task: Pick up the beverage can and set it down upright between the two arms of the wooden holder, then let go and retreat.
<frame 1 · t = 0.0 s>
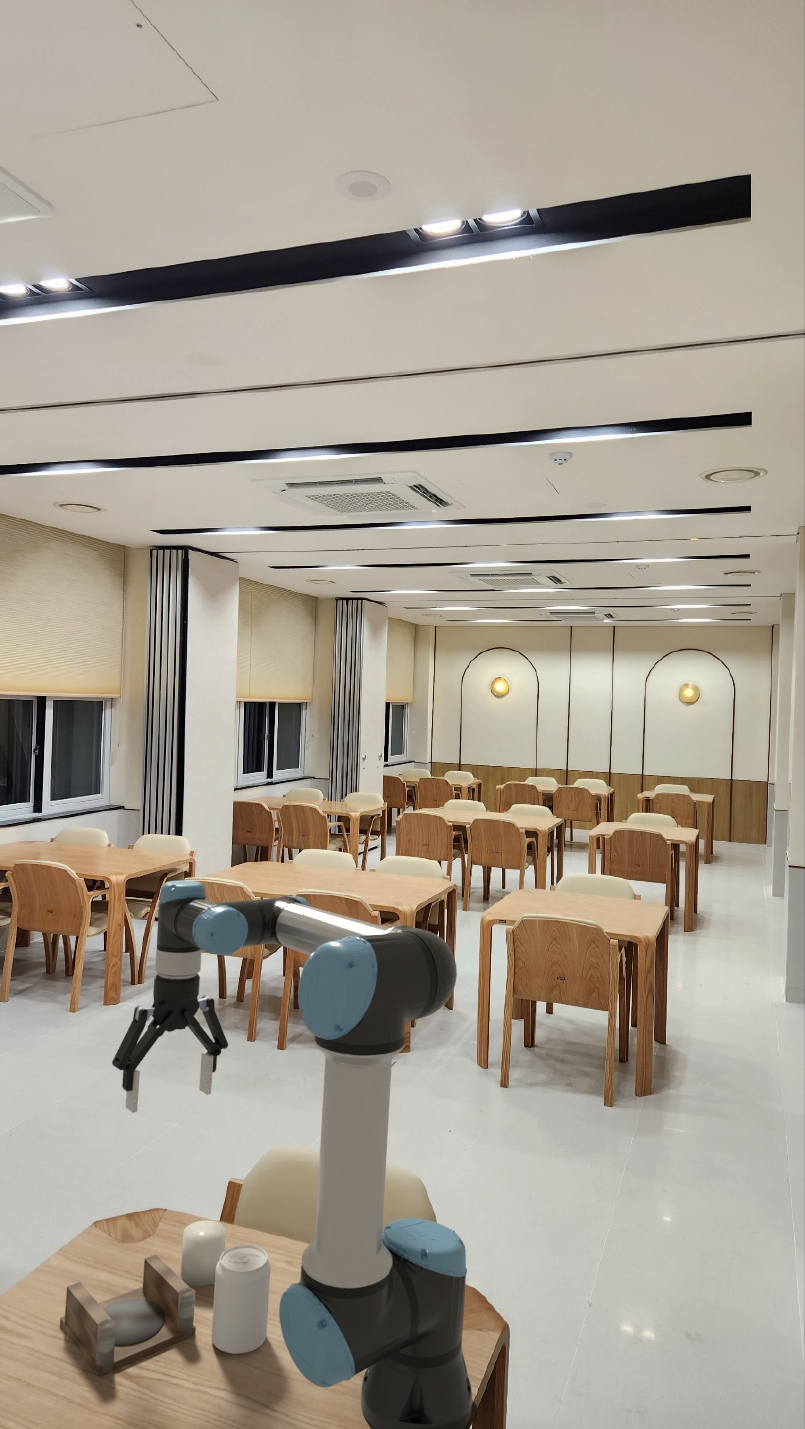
hand: (169, 1100, 152), 28 cm above the table, fingers open, 13 cm apart
beverage can: (238, 1341, 134), on the table
white pillar candle: (202, 1274, 150), on the table
wooden holder: (127, 1329, 135), on the table
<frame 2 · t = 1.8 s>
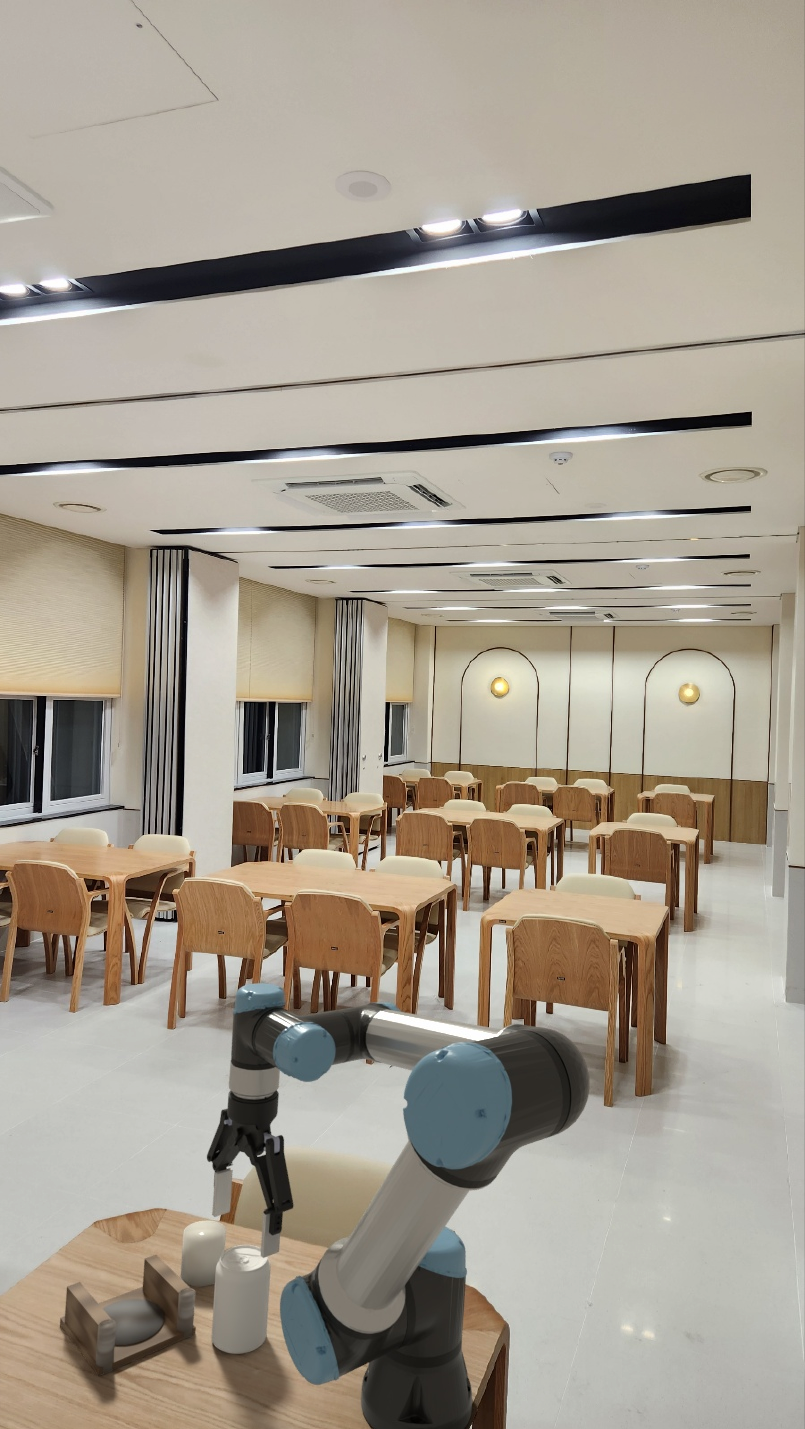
hand: (244, 1233, 135), 15 cm above the table, fingers open, 13 cm apart
nothing on the table moved.
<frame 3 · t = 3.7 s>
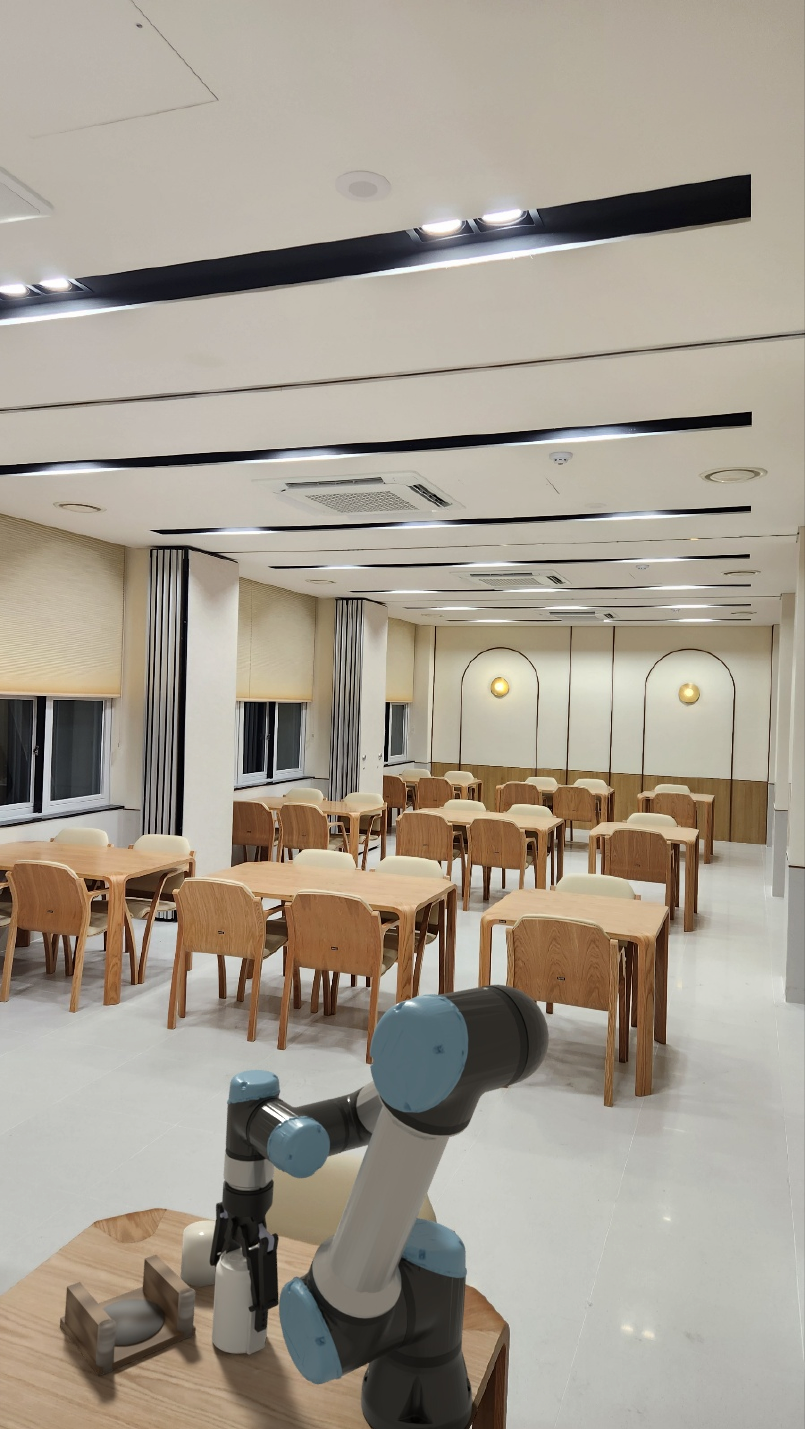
hand: (239, 1333, 135), 1 cm above the table, fingers closed on beverage can, 8 cm apart
beverage can: (239, 1340, 134), on the table, touching gripper
everything else where it was.
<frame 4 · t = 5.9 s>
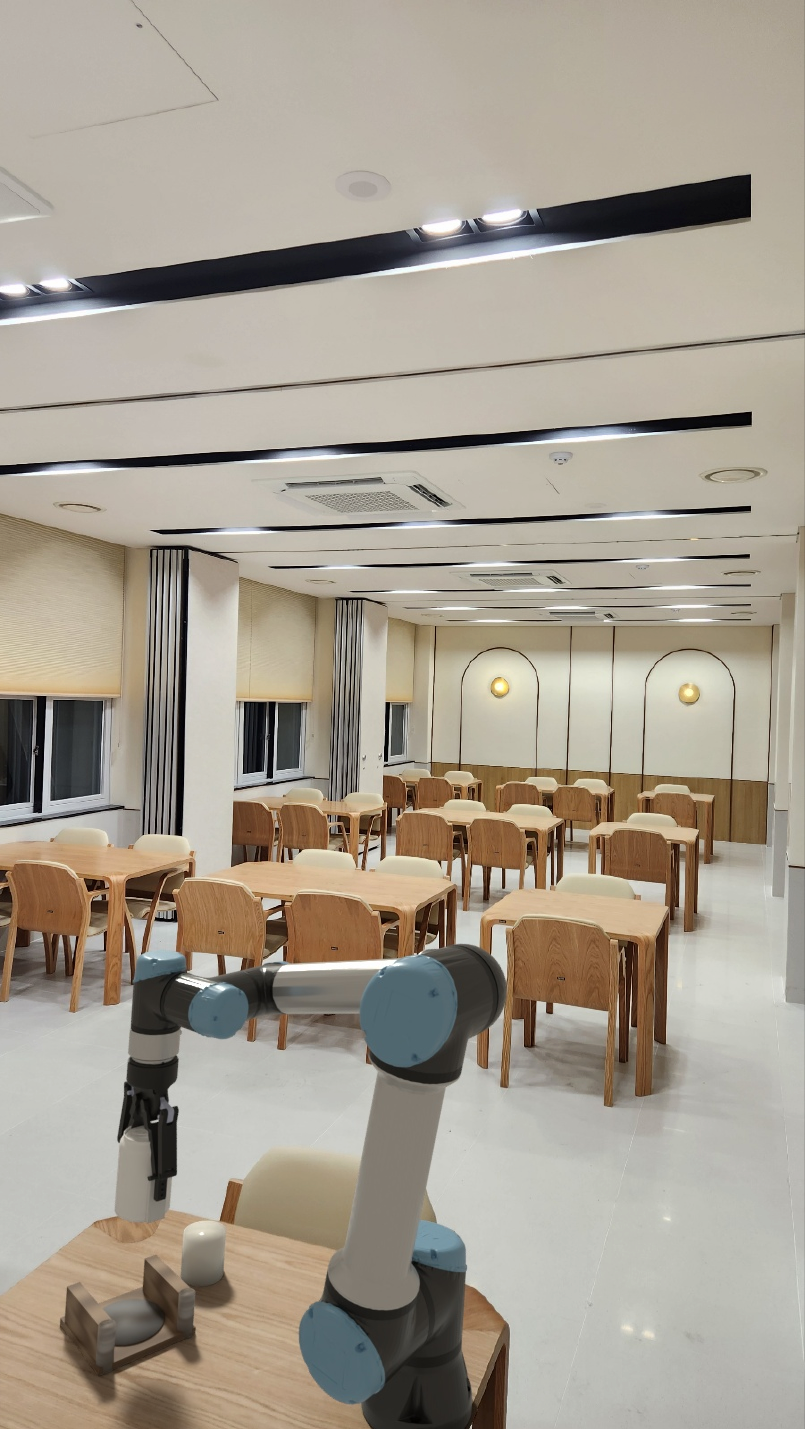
hand: (142, 1206, 136), 18 cm above the table, fingers closed on beverage can, 8 cm apart
beverage can: (141, 1212, 136), point 17 cm above the table, touching gripper
everything else where it was.
when the fingers open (3 cm above the table, at t = 8.4 s): beverage can stays where it is, resting on wooden holder.
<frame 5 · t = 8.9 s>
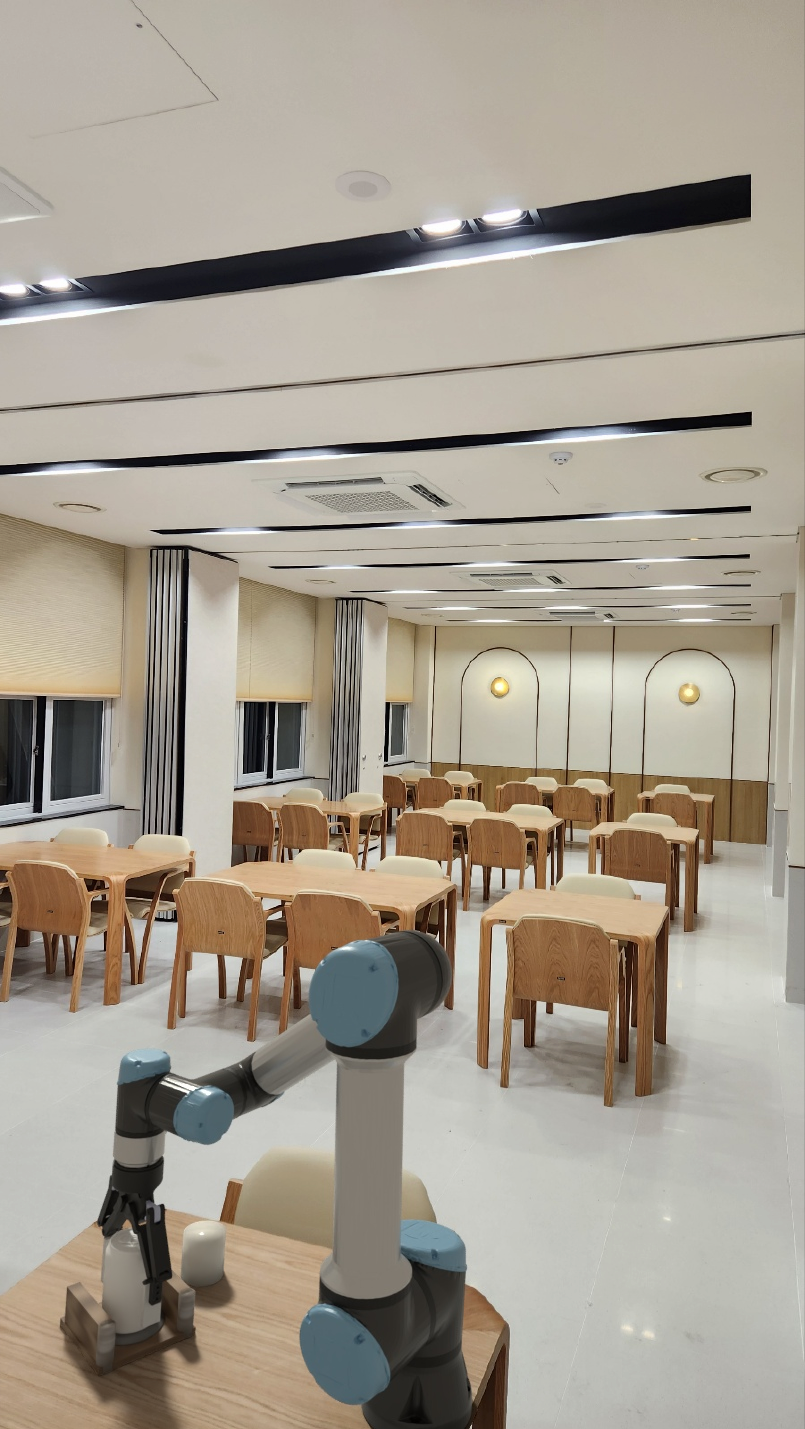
hand: (129, 1300, 136), 4 cm above the table, fingers open, 13 cm apart
beverage can: (128, 1321, 135), point 1 cm above the table, touching wooden holder
everything else where it was.
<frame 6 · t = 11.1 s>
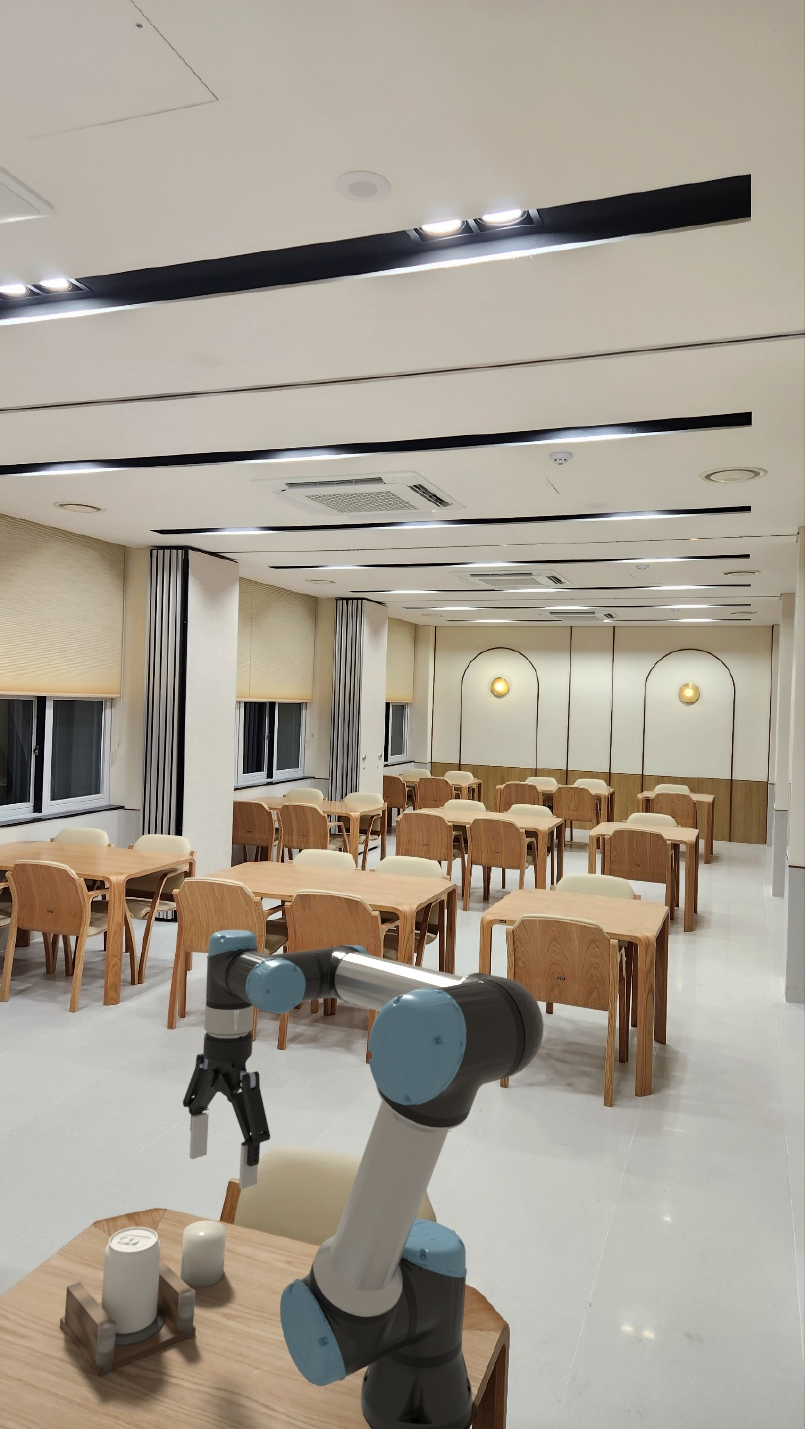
hand: (222, 1170, 140), 22 cm above the table, fingers open, 13 cm apart
nothing on the table moved.
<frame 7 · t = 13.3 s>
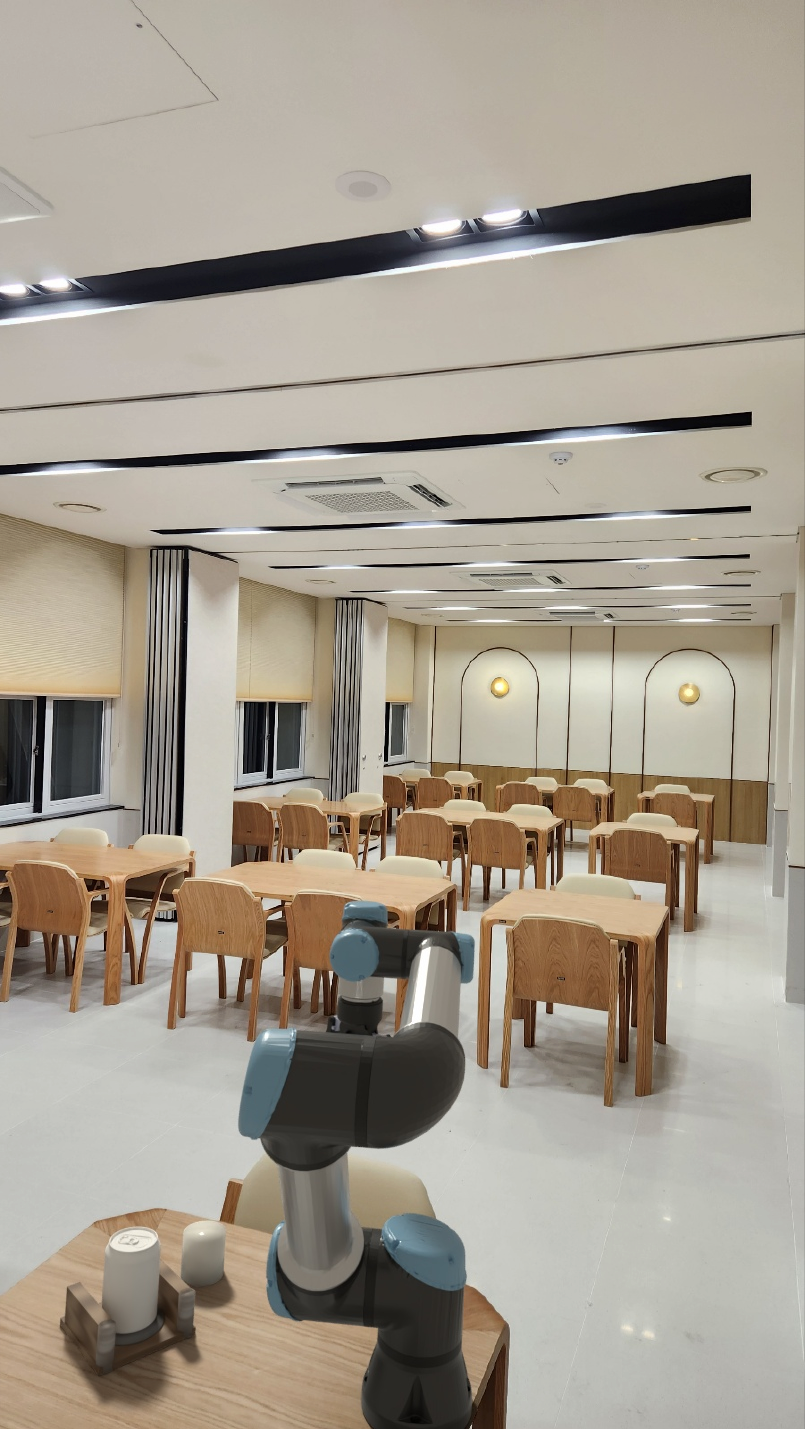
hand: (353, 1126, 149), 27 cm above the table, fingers open, 13 cm apart
nothing on the table moved.
at the end: beverage can inside the target area on the wooden holder (0.1 cm from its centre), point 1.1 cm above the wooden holder's base; beverage can tilted 0°; the gripper is holding nothing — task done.
